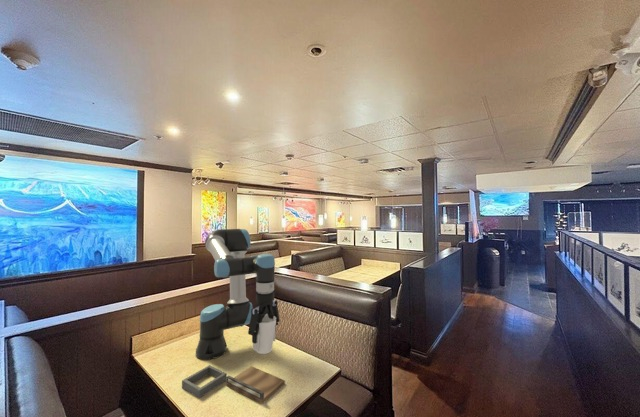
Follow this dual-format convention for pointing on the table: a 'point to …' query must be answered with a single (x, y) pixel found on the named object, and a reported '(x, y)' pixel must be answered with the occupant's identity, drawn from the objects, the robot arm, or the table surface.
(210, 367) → the frame
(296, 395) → the table surface
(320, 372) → the table surface
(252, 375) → the shelf board
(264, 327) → the foam cup
